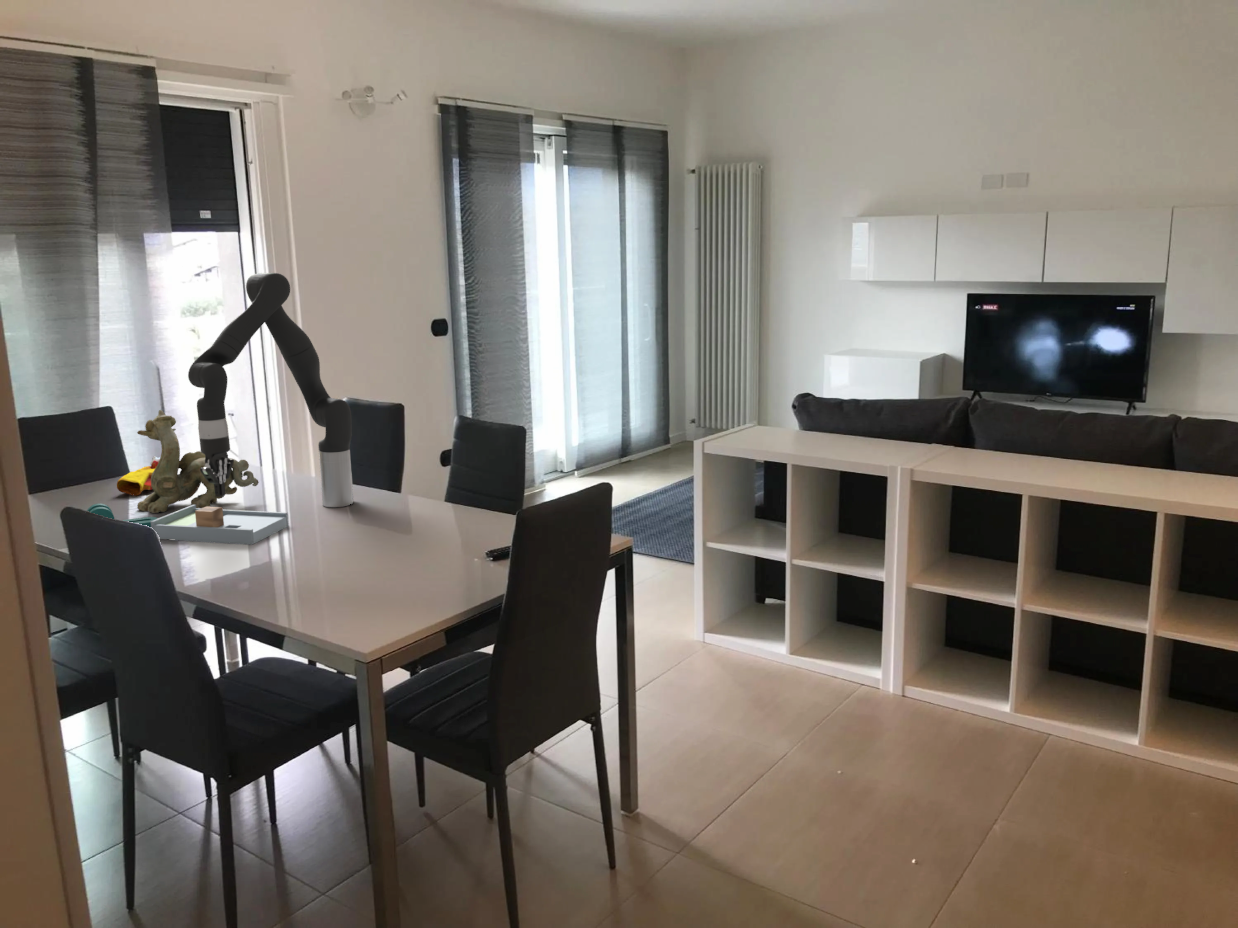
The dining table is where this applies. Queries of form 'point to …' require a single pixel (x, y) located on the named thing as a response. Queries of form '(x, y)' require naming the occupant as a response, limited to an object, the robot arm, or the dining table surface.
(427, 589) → the dining table surface
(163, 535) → the tray
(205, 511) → the block
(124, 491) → the toy
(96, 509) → the bracket
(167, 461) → the sculpture
